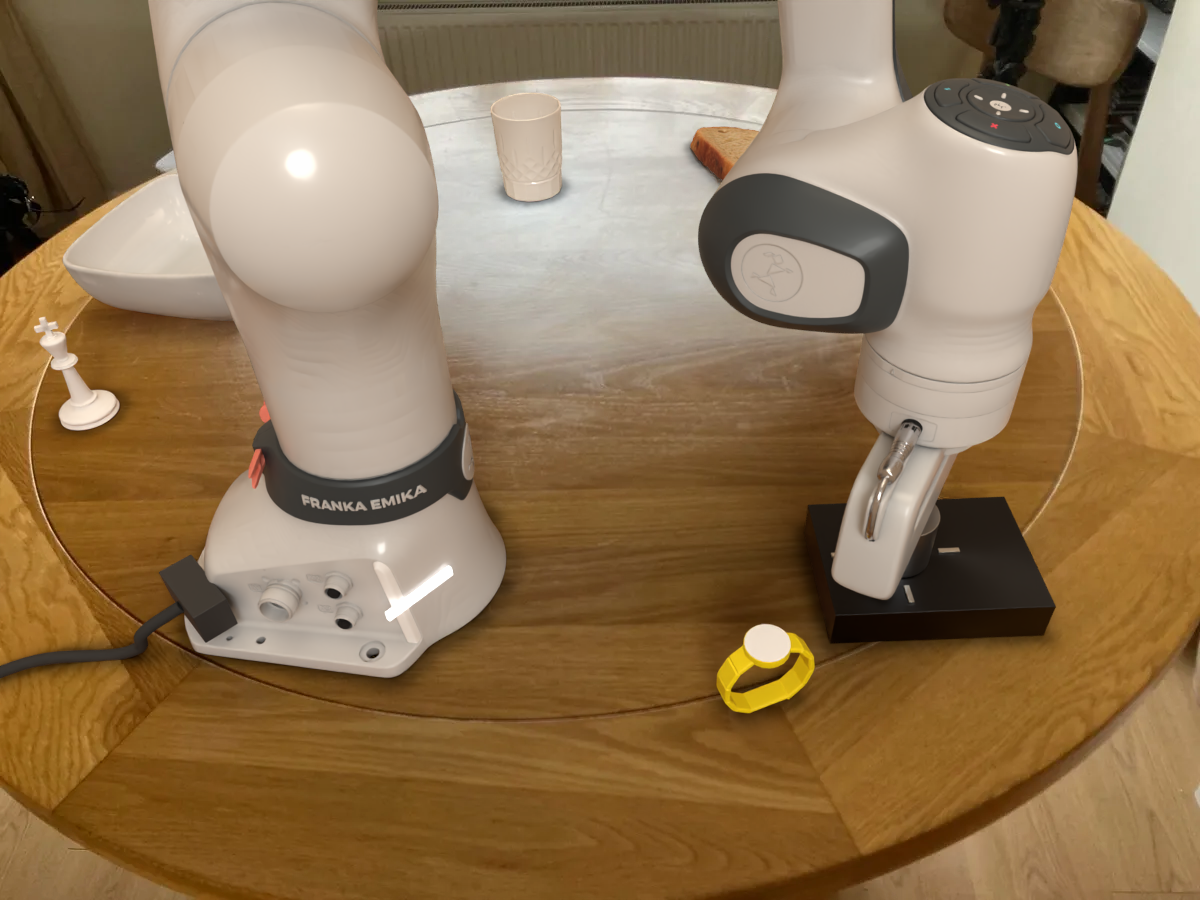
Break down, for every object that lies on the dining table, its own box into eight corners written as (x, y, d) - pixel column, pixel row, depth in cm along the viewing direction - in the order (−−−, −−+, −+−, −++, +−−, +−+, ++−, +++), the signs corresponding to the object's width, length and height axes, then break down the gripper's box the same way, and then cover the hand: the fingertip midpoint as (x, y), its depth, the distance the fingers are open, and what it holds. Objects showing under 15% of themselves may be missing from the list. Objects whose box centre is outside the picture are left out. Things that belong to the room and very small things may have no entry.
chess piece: (61, 403, 86) (11, 310, 80) (119, 389, 87) (74, 296, 81) (59, 436, 83) (7, 341, 76) (119, 421, 84) (73, 327, 77)
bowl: (68, 328, 95) (34, 261, 90) (181, 227, 110) (157, 165, 105) (253, 350, 91) (228, 280, 86) (345, 242, 106) (328, 177, 101)
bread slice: (696, 136, 122) (697, 107, 120) (839, 149, 118) (843, 120, 115) (658, 201, 110) (658, 170, 107) (817, 219, 105) (820, 187, 103)
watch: (795, 667, 62) (804, 609, 58) (816, 702, 60) (827, 644, 56) (709, 695, 61) (713, 637, 57) (728, 732, 59) (733, 674, 55)
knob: (918, 587, 63) (930, 542, 60) (852, 563, 64) (861, 518, 61) (936, 542, 65) (949, 497, 62) (873, 521, 67) (882, 476, 64)
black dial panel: (830, 644, 63) (835, 613, 61) (803, 533, 71) (807, 502, 69) (1043, 635, 63) (1057, 605, 61) (994, 525, 70) (1004, 494, 68)
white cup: (486, 189, 114) (476, 107, 107) (538, 168, 118) (530, 86, 111) (528, 211, 109) (520, 126, 103) (580, 188, 113) (575, 104, 106)
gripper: (940, 509, 47) (895, 675, 56) (1032, 303, 60) (983, 466, 69) (818, 469, 50) (794, 634, 59) (931, 280, 63) (897, 439, 72)
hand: (897, 541), depth 64 cm, fingers closed on knob, 4 cm apart
